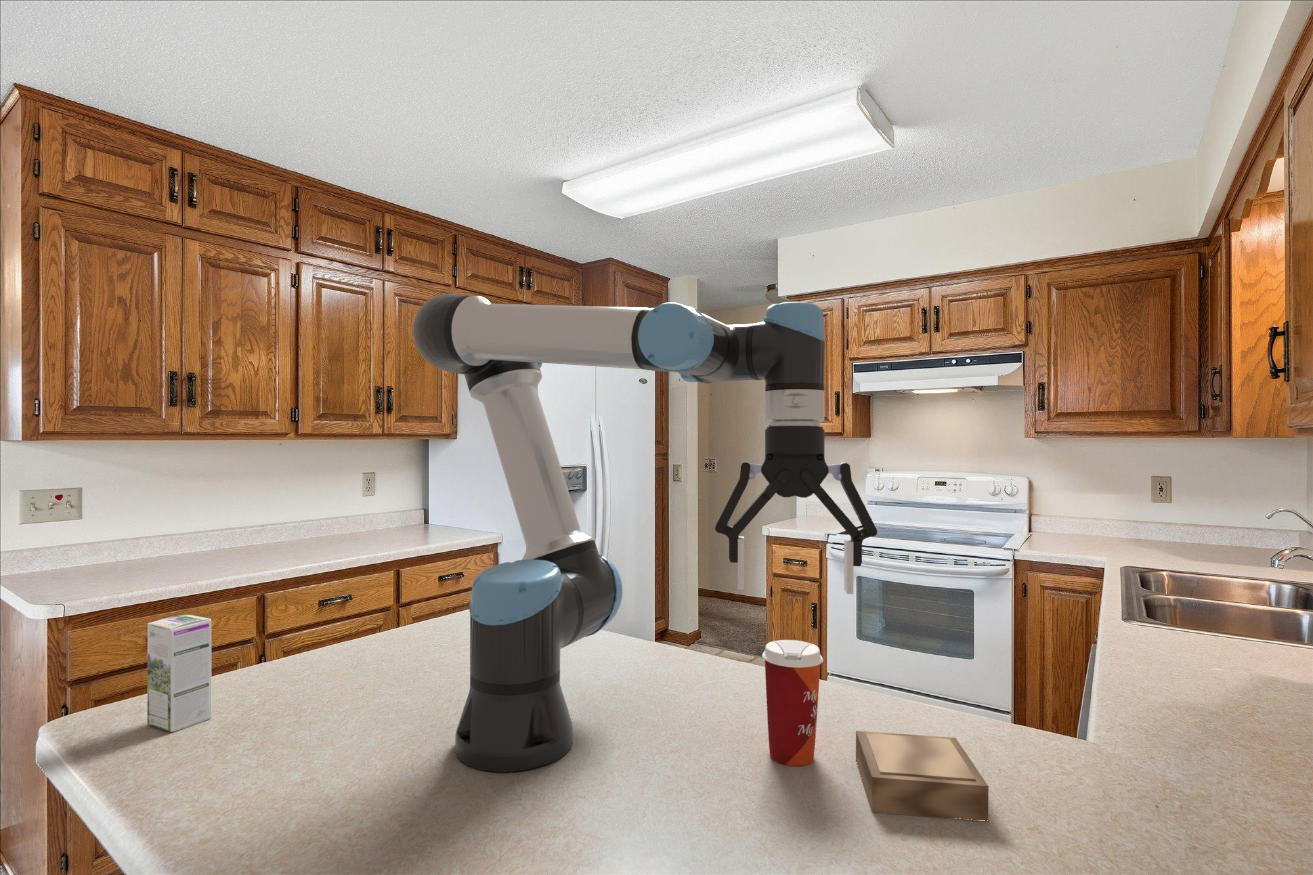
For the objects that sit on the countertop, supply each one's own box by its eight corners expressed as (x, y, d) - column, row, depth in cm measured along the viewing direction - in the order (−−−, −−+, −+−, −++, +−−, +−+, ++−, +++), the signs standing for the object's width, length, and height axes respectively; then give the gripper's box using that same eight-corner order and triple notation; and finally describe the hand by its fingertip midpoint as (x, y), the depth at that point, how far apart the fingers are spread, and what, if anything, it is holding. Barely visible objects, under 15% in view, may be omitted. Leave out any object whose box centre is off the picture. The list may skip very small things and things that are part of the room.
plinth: (871, 811, 74) (872, 775, 74) (855, 760, 86) (856, 729, 86) (988, 821, 72) (988, 784, 72) (955, 768, 84) (955, 736, 84)
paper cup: (823, 773, 82) (824, 658, 82) (759, 767, 84) (760, 653, 84) (821, 745, 90) (822, 640, 90) (762, 739, 92) (763, 636, 92)
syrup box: (213, 718, 97) (214, 616, 97) (168, 734, 91) (170, 626, 92) (188, 711, 99) (190, 612, 99) (144, 726, 94) (145, 621, 94)
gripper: (695, 424, 85) (694, 592, 85) (901, 423, 82) (901, 600, 81) (700, 425, 93) (699, 580, 93) (889, 425, 89) (889, 587, 89)
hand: (794, 590), depth 87 cm, fingers open, 13 cm apart
